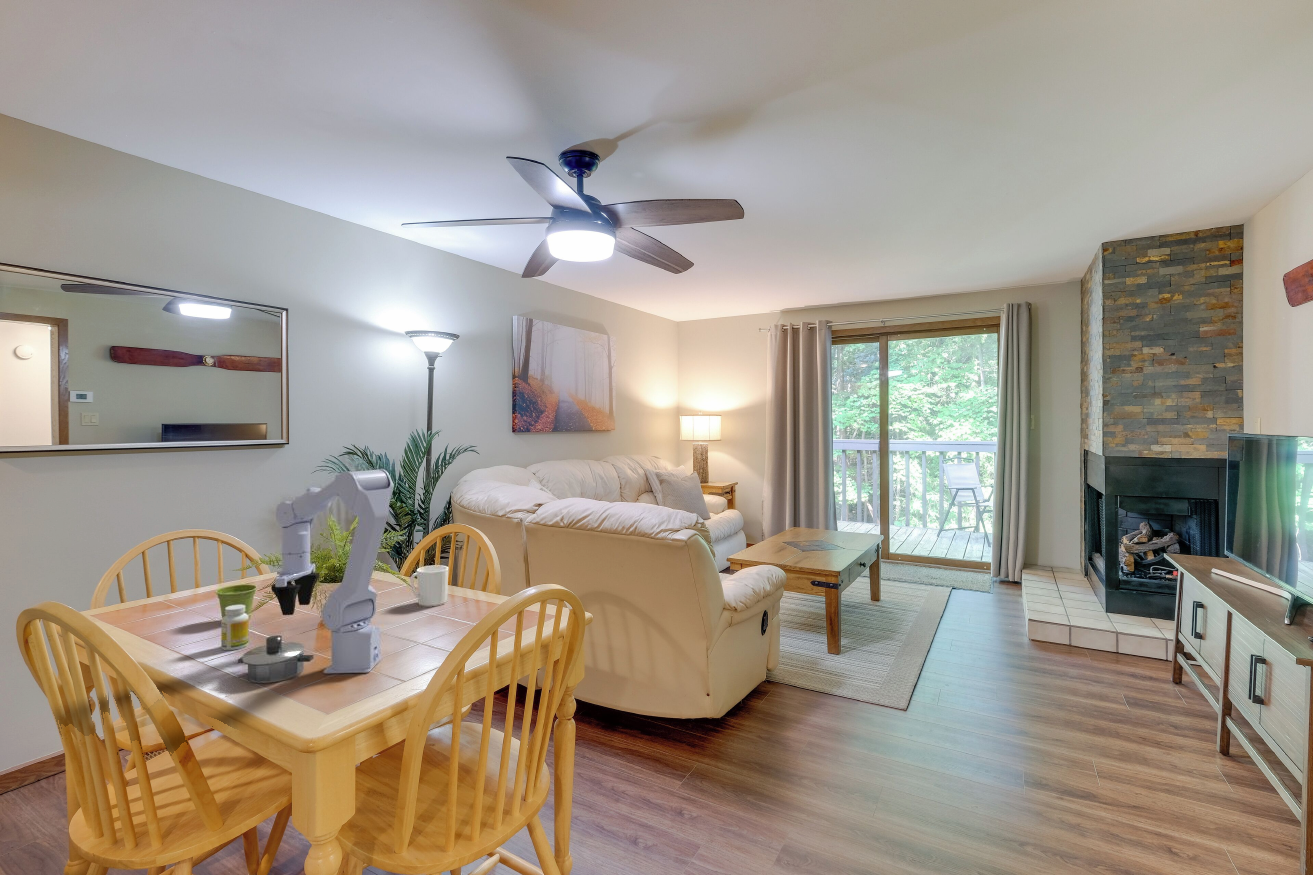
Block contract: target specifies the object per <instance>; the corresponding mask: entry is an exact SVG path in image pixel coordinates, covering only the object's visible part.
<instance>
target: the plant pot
mask: <svg viewBox="0 0 1313 875" xmlns="http://www.w3.org/2000/svg"><path fill="white" fill-rule="evenodd" d="M257 589H258V586H257V585H255V584H247V583H245V584H235V585H227V586H223V587H220V588H218V589H216V590H215V592H214V593H215V594H216V595H217V598H218V600H219V608H220V612H221V619H222V618H223V617H225V616H226V614H225V608H226V607H229V606H232V605H245V612H244V613H245V614H247V615H248V614H249V613H250V612H251V613H252V607H253V603H254V602H253V601H254V596H255V594H256V592H257V591H256V590H257ZM248 617H249V620H250V619H251V615H249V616H248Z"/></svg>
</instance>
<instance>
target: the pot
mask: <svg viewBox="0 0 1313 875" xmlns="http://www.w3.org/2000/svg"><path fill="white" fill-rule="evenodd" d="M242 657H243V655H242V656H241V657H239V658H238V659H237V664H244V663H243V658H242ZM312 660H314V654H304V653H303V654H302V655H300V656H299V657H297V658H295V659H292V660H289V661H286V662H282V663H278V664H272V665H264V666H252V665H247V680H248V682H249V683H253V684H262V685H265V684H274V683H280V682H284V681H288V680H290V679H293V678H295V677H297V676H298V675H301V673H302V672H303V670H304V663H309V662H311V661H312Z"/></svg>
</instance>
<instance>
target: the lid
mask: <svg viewBox="0 0 1313 875" xmlns="http://www.w3.org/2000/svg"><path fill="white" fill-rule="evenodd" d="M282 637H283V636H282V635H271V636H268V637H266V640H265V642H266V643H265V645H261V646H257V647H254V648H252V649H249V650H248V651H247V652H245V653H244V654H243V655H242V656H243V657H242V656H241V657H242V658H243V663H242V664H244V665H247V666H248V665H252V666H264V665H272V664H278V663H282V662H286V661H289V660H292V659H295V658H297V657H299V656H300V655H302V654H303V655H304V652H305V646H304V644H303V643H299V642H294V641H293V642H292V641H291V642H290V641H287V642H286V641H285V642H284V641H283V642H282V640H283V639H282Z"/></svg>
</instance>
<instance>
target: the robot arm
mask: <svg viewBox="0 0 1313 875" xmlns="http://www.w3.org/2000/svg"><path fill="white" fill-rule="evenodd" d="M394 487H395V484H394V482H393V480H392V478H391V476H390V474H389V472H388V471H387V470H385V469H384V468H377V469H371V470H370V469H369V470H358V471H350V470H349V471H347V470H346V471H343V472H341V473H339V474H336V475H335V477H334V480H332V481H330V482H329V483H328V484H327V485H325V486H323V487H322V488H320V487H315V486H313V487H308V488H307V489H306V492H304V493H303V494H301V495H296V496H295V497H294V499H292V500H291V501H287V500H286V501H280V502H279V504H278V505H277V507H276V510H275V518H276V522H277V524H278V525H279V526H280V527H281V569H279V570H277V571H276V574H277V575H278V576H277V577H276V578H275V580H274V581H275V583H273V584H271V587H270V589H271V591H272V593H273V594H274V595H275V597H276V599H277V600H278V604H279V607H280V610H281V613H282V616H293V615H294V614H295V610H296V602H297V601H298V605H299V606H309V605H310V604H311V600H312V596H313V592H314V589H315V585H316V583H317V581H318V580H319V578H320V573H319V572H316V563H311V531H312V530H313V528H314V526H313V525H314V521H315V519H316V517H318V516H319V515H321V514H322V513H324V512H326V511H328V509H329V508H331V505H332V502H333V501H336V500H338V499H339V498H340V500H341V501H342V503H343V504H344V505H345V507H346V508H347V510H348V511H349V513H350V514H351V515H353V516H356V517H357V519H358V520H357V524H356V529H355V532H354V535H353V539H352V542H351V543H352V544H351V546H350V551H349V555H348V558H347V563H346V566H345V570H344V574H343V577H342V581H341V584H339V585H338V586H337V587H336V588H334V589H333V590H332V591H331V592H330V593H329V595H328V599H327V601H326V602H325V603H324V605H323V607H322V610H321V621H322V623H323V625H324V626H325V627H326V628H327V630H328V631H330V634H331V635H330V642H331V643H330V651H331V652H330V654H331V655H330V657H331V659H330V660H331V661H330V663H331V664H329V666H328V667H326V668H325V670H323V671H322V672H323V674H353V673H355V674H356V673H357V674H358V673H359V674H360V673H361V674H362V673H364V674H365V673H369V672H370V671H371V670H372V669H374V667H375V666H376V665H377V664H378V663H379V662H380V661H381V660H382V656H381V630H380V627H379V626H377V625H370V624H371V621H372V619H373V618H374V616H375V615H376V612H377V597H378V592H377V591H376V589H375V588H374V587H373V586H372V585H370V583H371V581H372V580H371V579H372V576H373V573H374V572H373V571H374V569H375V565H376V561H377V558H378V553H379V550H380V546H381V542H382V540H383V539H382V538H383V534H384V531H385V528H386V523H387V521H388V517H389V516H388V515H389V506H390V502H391V499H392V497H393V496H392V495H393V491H394ZM292 582H293V583H292ZM296 600H297V601H296Z"/></svg>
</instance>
